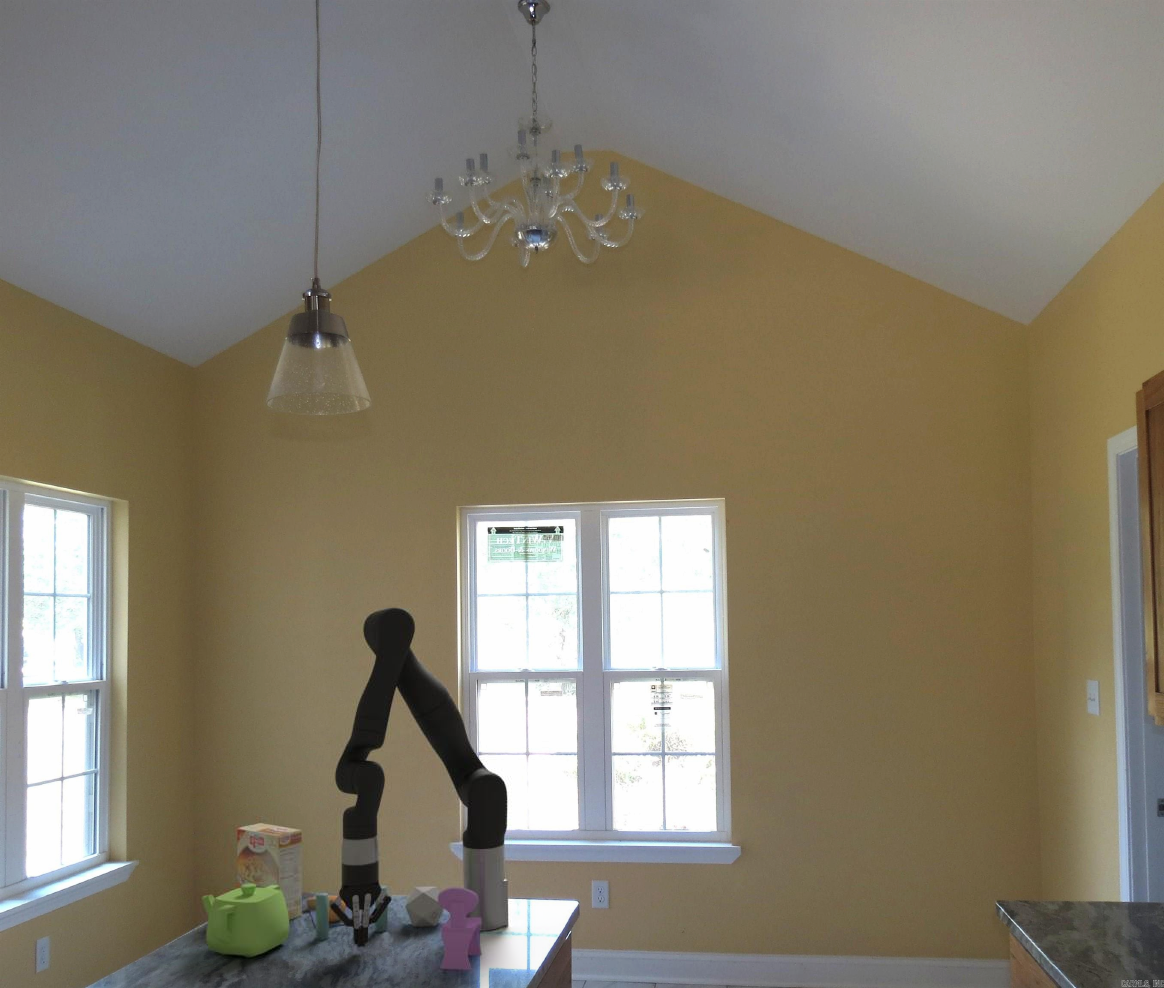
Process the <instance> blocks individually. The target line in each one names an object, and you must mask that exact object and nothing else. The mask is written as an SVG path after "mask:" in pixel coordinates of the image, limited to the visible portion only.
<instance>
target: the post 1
mask: <svg viewBox="0 0 1164 988" xmlns="http://www.w3.org/2000/svg"><path fill="white" fill-rule="evenodd" d="M329 895H330V894H329V893H328V892H321V893H317V894H316V895H315V897H316V928H315V939H316V940H317V941H324V940H327V939H330V938H329V937H330V936H329V935H330V934H329V932H330V930H329V928H330V927H329Z"/></svg>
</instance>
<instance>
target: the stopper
mask: <svg viewBox="0 0 1164 988" xmlns="http://www.w3.org/2000/svg"><path fill="white" fill-rule="evenodd" d="M330 896H339V893H335V894H329V897H330ZM345 906H346V904H345ZM314 909H316V896H311V897H306V911H307V912H310V910H314Z"/></svg>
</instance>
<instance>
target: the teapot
mask: <svg viewBox="0 0 1164 988" xmlns="http://www.w3.org/2000/svg"><path fill="white" fill-rule="evenodd" d="M201 900H202V904H203V906H204V909H205V911H206V913H207V917H208V919H207V920H208V921H207V925H206V926H207V927H206V935H205V940H206V944H207V946H208V949H209V950H210V952H214V953H218V954H219V953H220V954H221V955H233V956H235V955H236V956H244V957H245V958H254V957H256V956H258V955H261V954H264V953H266V952H268V951H270V950H272V949H273V948H274V949H275V948H276V947H278V946H280V945H281V944H283V943H284V942H286V941H287V938H288V935H289V933H290V920H289V917H288V911H287V906H286V903H285V899H284V896H283V893H282V891H280V886H279V885H270V886H268V887H266V888H256V884H252V883H250V884H244V885H242V886H241V888H237V887H236V888H235V889H233V890H230V891H228V892H225V893H223V894H221V895H219V896H216V897H214V896H213V894H210V895H209V894H208V895H204V896H202V897H201Z"/></svg>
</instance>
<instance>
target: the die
mask: <svg viewBox="0 0 1164 988" xmlns="http://www.w3.org/2000/svg"><path fill="white" fill-rule="evenodd" d="M440 892H441V891H440V890H439V888H438V886H414V887H413V890H412V891H411V893H410V896H409V898H408V900H407V901H406V903H405V905H404V908H405V909H406V912H407V914H408V917H409V920H410V922H411V925H412V927H413V928H414V927H415V928H417V927H436V926H437V924H438V923H439V920H440V918H441V916H442V914H443V912H444V910H445V909H444V908H443V907H441V906H440V904H439V903H438V895H439V893H440Z"/></svg>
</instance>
